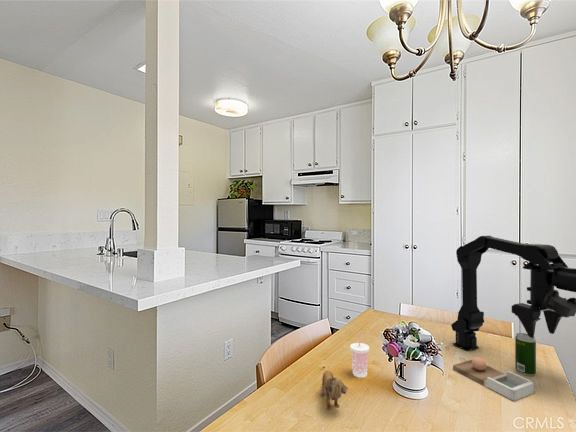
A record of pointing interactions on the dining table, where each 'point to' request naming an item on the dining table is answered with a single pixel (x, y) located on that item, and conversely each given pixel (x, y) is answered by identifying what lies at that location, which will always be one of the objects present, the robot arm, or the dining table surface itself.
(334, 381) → the lion figurine
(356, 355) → the beverage cup
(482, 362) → the ball
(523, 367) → the beer can
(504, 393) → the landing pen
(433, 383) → the dining table surface
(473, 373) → the runway
